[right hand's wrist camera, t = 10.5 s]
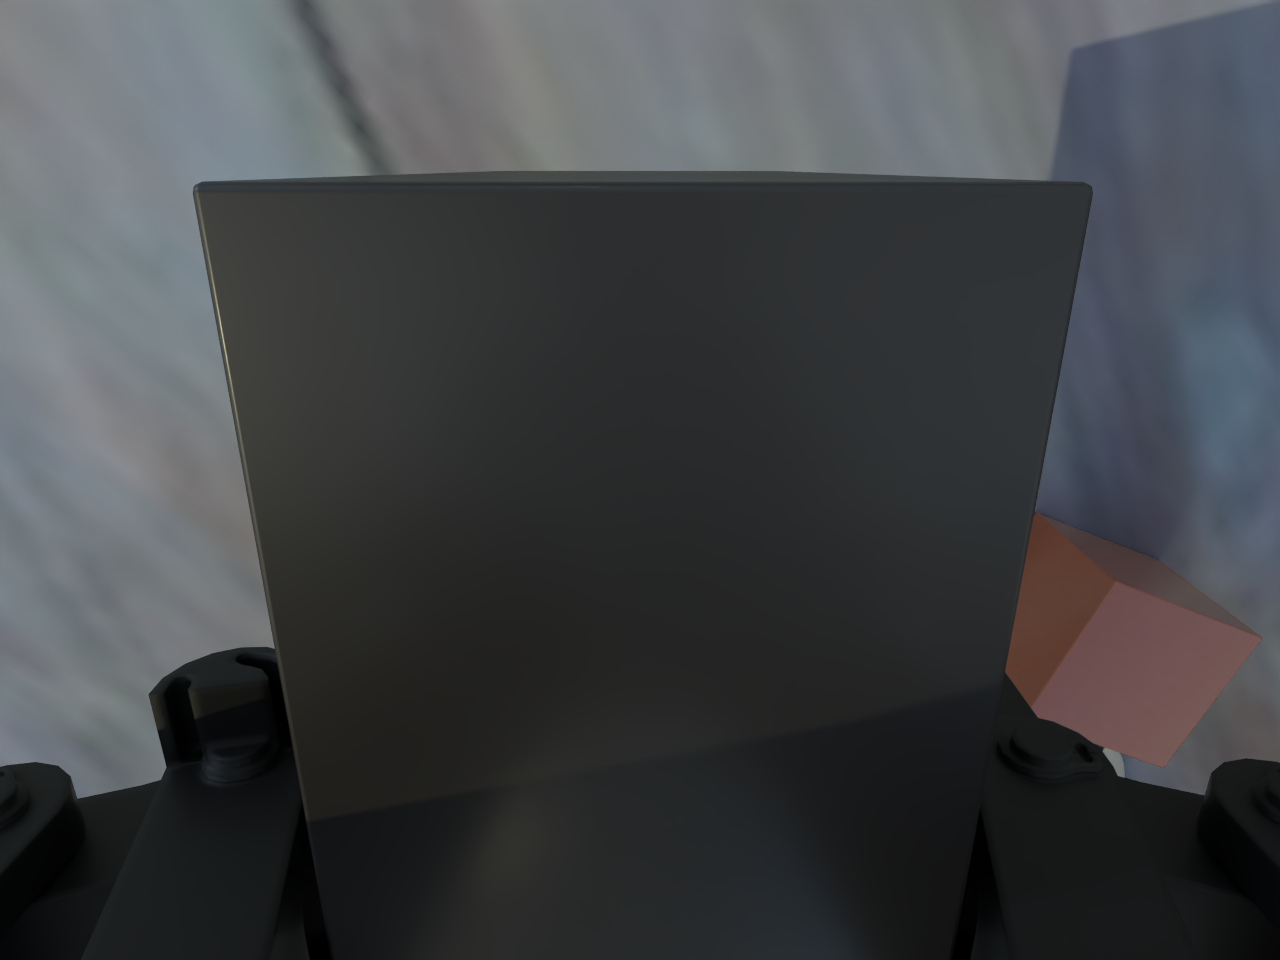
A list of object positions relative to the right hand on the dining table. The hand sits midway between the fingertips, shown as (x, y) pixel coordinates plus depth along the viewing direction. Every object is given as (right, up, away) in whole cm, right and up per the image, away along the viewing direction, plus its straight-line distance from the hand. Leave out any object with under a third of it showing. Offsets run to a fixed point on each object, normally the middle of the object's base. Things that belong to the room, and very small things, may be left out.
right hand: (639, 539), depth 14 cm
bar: (0, -10, +5) cm, 11 cm away
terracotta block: (+15, -3, +15) cm, 21 cm away
